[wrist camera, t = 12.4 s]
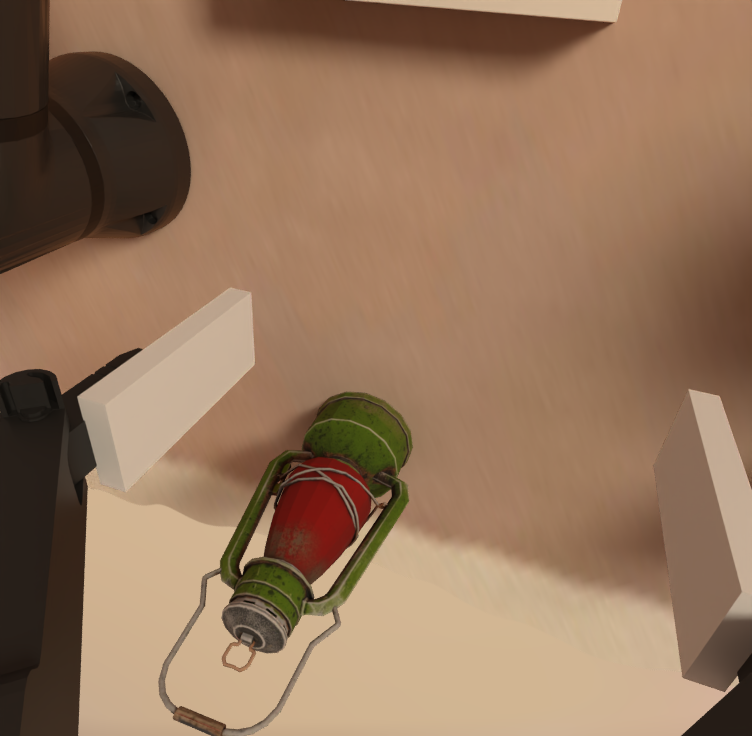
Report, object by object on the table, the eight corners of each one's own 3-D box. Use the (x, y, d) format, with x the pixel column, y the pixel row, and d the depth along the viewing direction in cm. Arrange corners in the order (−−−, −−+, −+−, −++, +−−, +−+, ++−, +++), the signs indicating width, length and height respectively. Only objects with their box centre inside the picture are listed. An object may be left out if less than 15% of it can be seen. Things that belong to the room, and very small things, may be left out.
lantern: (302, 456, 62) (117, 730, 38) (301, 377, 57) (81, 640, 32) (423, 489, 59) (303, 813, 35) (434, 409, 53) (300, 728, 29)
